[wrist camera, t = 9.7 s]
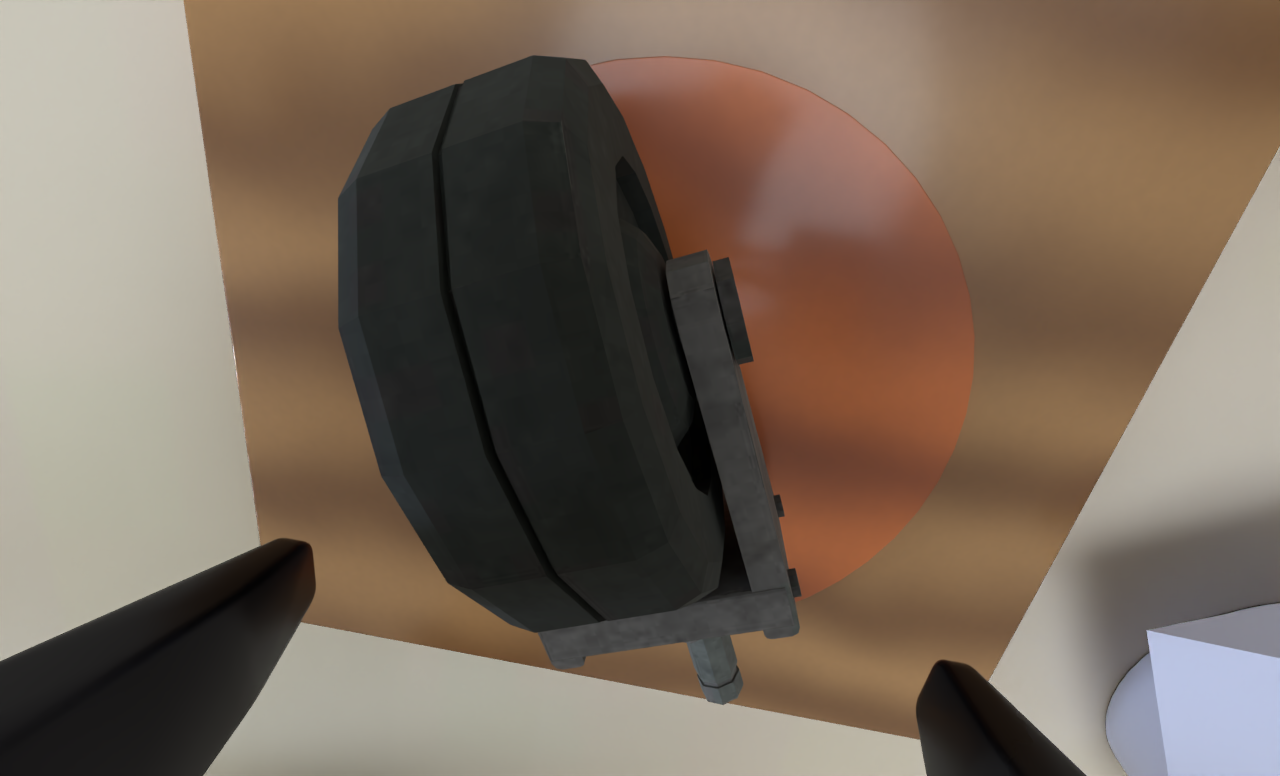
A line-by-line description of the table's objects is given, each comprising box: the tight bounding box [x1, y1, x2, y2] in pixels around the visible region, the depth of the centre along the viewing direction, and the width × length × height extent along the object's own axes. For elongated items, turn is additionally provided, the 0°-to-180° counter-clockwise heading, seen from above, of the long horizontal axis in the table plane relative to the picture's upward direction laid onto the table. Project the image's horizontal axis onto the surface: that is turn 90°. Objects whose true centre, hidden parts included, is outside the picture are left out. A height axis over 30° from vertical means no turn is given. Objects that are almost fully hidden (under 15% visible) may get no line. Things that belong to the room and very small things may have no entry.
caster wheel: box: [338, 55, 802, 705], centre depth 12 cm, size 6×10×15 cm
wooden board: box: [184, 0, 1280, 739], centre depth 16 cm, size 22×24×1 cm
